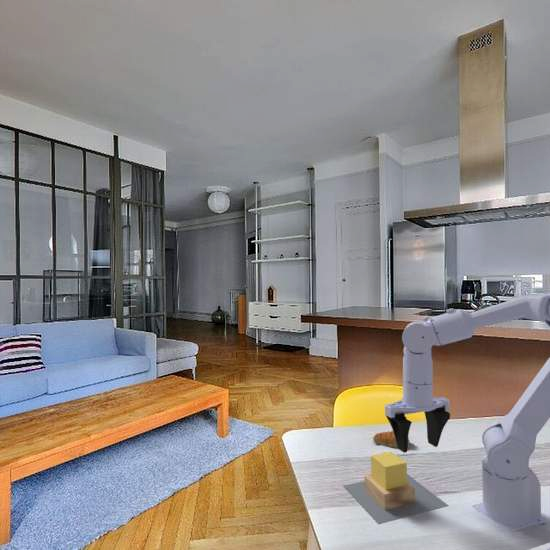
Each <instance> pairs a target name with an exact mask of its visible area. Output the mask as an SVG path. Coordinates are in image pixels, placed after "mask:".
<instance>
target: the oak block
mask: <svg viewBox="0 0 550 550" xmlns="http://www.w3.org/2000/svg"><path fill="white" fill-rule="evenodd" d="M364 481H365V491H366V492H367V493H368V494H369V495H370V496H371V497H372V498H373V499H374V500H375V501H376V502H377V503H378V504H379V505H380V506H381V507H382V508H383V509H384V510H387V509H391V508H395V507H399V506H403V505H407V504H411V503H415V487H414V486H412V485H411V484H410V483H409V482H407V485H406V486H401V487H397V488H392V489H388V490H385V489H384V488H383V487H382V486H381V485H380V484H378V483H377V482H376V481H375V480H374V479H373V478H372V477H371V474H367V475H364Z"/></svg>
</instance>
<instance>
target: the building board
mask: <svg viewBox="0 0 550 550" xmlns="http://www.w3.org/2000/svg"><path fill="white" fill-rule="evenodd" d="M407 482H409V483H410V484H411V485H412V486H414V487H415V503H411V504H407V505H403V506H399V507H395V508H391V509H387V510H384V509H383V508H382V507H381V506H380V505H379V504H378V503H377V502H376V501H375V500H374V499H373V498H372V497H371V496H370V495H369V494H368V493H367V492H366V491H365V480H363V481H360V482H354V483H350V484H345V485H342V487H343V488H344V489H345V490H346V491H347V492H348V493H349V494H350V495H351V496H352V498H354V500H355V501H356V502H357V503H358V504H359V505H360V506H361V507H362V509H364V511H365V512H366V513H367V514H368V515H369V516H370V517H371V519H373V520H374V521H375V523H376V524H378V525H380V524H383V523H384V524H385V523H388V522H392V521H395V520H396V521H397V520H399V519H404V518H408V517H411V516H415V515H419V514H422V513H426V512H430V511H434V510H437V509H441V508H445V507H449V505H448V504H447V503H446V502H445V501H443V500H442V499H441V498H440V497H438V496H437V495H436V494H434V493H433V492H432V491H430V490H429V489H428V488H426V487H425V486H424V485H422V484H421V483H420V482H418V481H417V480H416V479H414V478H413V477H412V476H410V475H409V474H408V473H407Z"/></svg>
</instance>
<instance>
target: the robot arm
mask: <svg viewBox="0 0 550 550" xmlns="http://www.w3.org/2000/svg"><path fill="white" fill-rule="evenodd" d="M519 319H527V320H530V321H531V320H532V321H538V322H544V323H545V324H546V325H547V326H548V327H549V328H550V290H547V291H546V292H544V293H543V292H542V293H541V292H538V293H531V294H527V295H522V296H519V297H516V298H512V299H510V300H507V301H504V302H501V303H500V302H499V303H498V304H495V305H491V306H488V307H485V308H482V309H479V310H476V311H473V312H467V311H465V310H463V309H461V308H460V309H456V310H455V309H454V308H453V307H452V308H449V309H446V313H442V314H440V315H436V316H433V317H430V318H428V316H424V317H422V319H421V320H422V321H412V322H410V323H408V324H407V325H406V327H405V328H404V330H403V332H402V335H401V341H402V344H403V345H404V347H403V357H402V397H401V400H398V401H395V402H392V403H389V404H385V405H384V415H385V417H386V419H387V421H388V423H389V424H390V427H391V429H392V431H393V432H394V435H395V438H396V442H397V447H398V448H397V449H398V450H399V451H400V452H402V453H404V454H405V453H407V452H408V450H409V449H408V438H409V433H410V430H411V429H410V428H411V427H412V423H413V422H412V421H411V420H410V419H408V418H407V416H406V415H409V414H416V413H422V412H423V413H424V416H425V421H426V422H425V423H426V431H427V432H426V434H427V437H426V438H427V442H428V443H427V444H430V445H432V446H433V447H435V448H437V447H438V446H439V443H440V440H441V437H442V432H443V430H444V428H445V426H446V424H447V422H448V421H449V420H450V419H451V413H450V412H449V411H447V410H450V407H451V406H450V404H451V403H450V399H448V398H446V397H442V396H440V397H434V362H433V361H434V360H433V358H432V347H433V346H437V347H439V346H444V345H448V344H452V343H456V342H459V341H463V340H466V339H470V338H472V337H473V335H474V333H475V331H476V330H477V329H481V328H486V327H490V326H495V325H498V324H502V323H506V322H511V321H515V320H519ZM549 420H550V357H548V359H547V360H546V362H545V363H544V364H543V366H542V367H541V369H540V370H539V371H538V372H537V374H536V376H535V377H534V378H533V380H532V381H531V382H530V384H529V385H528V386H527V388H526V389H525V391H524V392H523V393H522V395H521V396H520V397H519V399H518V401H517V402H516V403H515V405H514V406H513V407H512V409H511V410H510V411H509V413H507V414H505V415H503V416H501V417H500V418H499V420H498V421H497V422H496V423H494V424H492V425H490V426H488V427H486V428H485V429H484V431H483V432H482V435H481V436H482V437H481V442H482V444H483V446H484V448H485V449H484V450H485V452H486V455H485V457H484V458H483V459H482V461H481V463H482V464H481V465H482V466H481V472H482V473H481V474H482V477H481V479H482V483H481V484H482V502H480V503H477V504H472V505H471V507H472V508H473V509H474V510H476V511H477V512H478V513H480V514H482V515H483V516H484V517H486V518H487V519H489V520H490V521H491V522H493V523H494V524H495V525H497V526H498V527H500V528H501V529H502V530H504V531H506V532H507V533H511V532H515V531H517V530H518V531H519V530H521V529H522V530H523V529H525V528H528V527H531V526H534V525H537V524H538V525H539V526H540V525H543V524H546V522H547V520H546V519H545V517H543V516H542V503H541V502H542V499H541V497H542V496H541V495H542V494H541V493H542V492H541V490H542V489H541V482H540V480H539V478H538V476H537V475H536V473H535V471H533V470H532V468H530V467H529V465H530V463H529V462H530V458H531V456H532V454H533V453H534V452H535V448H536V441H537V437H538V434H539V433H540V432H541V430H542V429H543V427H544V426H545V425H546V424H547V422H548V421H549Z"/></svg>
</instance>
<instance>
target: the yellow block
mask: <svg viewBox="0 0 550 550" xmlns="http://www.w3.org/2000/svg"><path fill="white" fill-rule="evenodd" d="M407 466H408V465H407V462H406V461H405V460H404V459H402V458H401V457H399V456H398V455H397V454H395V453H394V452H392V451H388V452H387V451H386V452H382V453H377V454H371V455H370V468H371V469H370V471H371V472H370V475H371V477H372V478H373V479H374V480H375V481H376V482H377V483H378V484H380V485H381V486H382V487H383V488H384V489H385V490H388V489H392V488H397V487H401V486H406V485H407V474H408V469H407V468H408V467H407Z"/></svg>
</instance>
